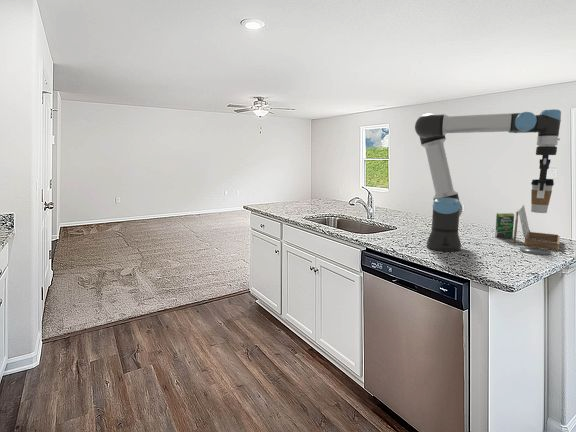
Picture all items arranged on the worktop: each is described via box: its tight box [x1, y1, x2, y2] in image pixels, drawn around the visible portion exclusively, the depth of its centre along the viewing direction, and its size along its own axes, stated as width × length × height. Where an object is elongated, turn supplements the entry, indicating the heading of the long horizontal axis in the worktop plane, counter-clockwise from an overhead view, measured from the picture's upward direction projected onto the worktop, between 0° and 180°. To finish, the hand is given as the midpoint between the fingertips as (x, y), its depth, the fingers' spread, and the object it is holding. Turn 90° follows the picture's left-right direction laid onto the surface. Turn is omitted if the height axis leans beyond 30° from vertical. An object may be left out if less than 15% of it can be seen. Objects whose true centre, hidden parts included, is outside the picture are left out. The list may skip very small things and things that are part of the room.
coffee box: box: [494, 212, 515, 239], centre depth 197 cm, size 8×3×13 cm, turn 77°
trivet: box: [519, 246, 552, 256], centre depth 169 cm, size 12×12×1 cm
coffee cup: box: [530, 178, 555, 214], centre depth 166 cm, size 8×8×15 cm
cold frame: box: [512, 204, 561, 251], centre depth 184 cm, size 22×19×18 cm
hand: (540, 197), depth 166 cm, fingers closed on coffee cup, 8 cm apart
